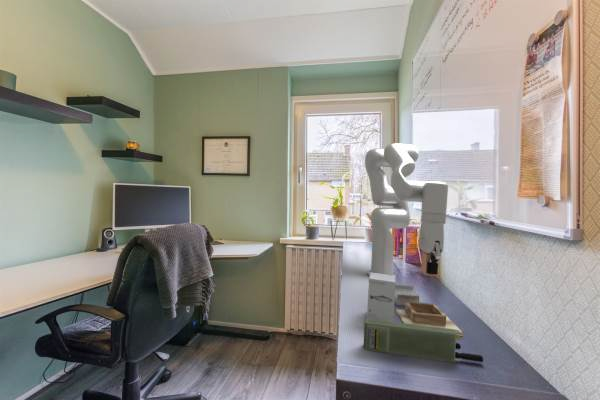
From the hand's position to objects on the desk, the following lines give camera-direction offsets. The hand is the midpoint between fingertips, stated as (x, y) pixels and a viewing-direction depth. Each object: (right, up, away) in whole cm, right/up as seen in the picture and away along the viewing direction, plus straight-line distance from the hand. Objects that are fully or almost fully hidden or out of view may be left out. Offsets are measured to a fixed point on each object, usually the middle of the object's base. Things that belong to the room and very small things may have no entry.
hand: (429, 271), depth 89 cm
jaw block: (0, -1, 0) cm, 1 cm away
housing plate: (-8, -11, +1) cm, 13 cm away
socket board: (-8, -11, -14) cm, 20 cm away
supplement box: (-21, -11, -13) cm, 27 cm away
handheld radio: (-17, -11, -30) cm, 36 cm away
